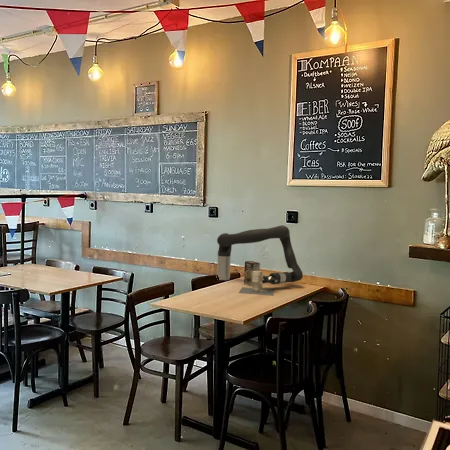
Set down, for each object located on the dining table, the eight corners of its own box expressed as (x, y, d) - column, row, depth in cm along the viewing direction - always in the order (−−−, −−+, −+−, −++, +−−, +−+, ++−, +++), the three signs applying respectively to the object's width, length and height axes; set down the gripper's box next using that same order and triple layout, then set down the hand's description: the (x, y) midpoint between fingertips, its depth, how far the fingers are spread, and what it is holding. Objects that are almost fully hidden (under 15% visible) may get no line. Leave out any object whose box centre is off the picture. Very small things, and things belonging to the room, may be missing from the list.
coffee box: (243, 284, 327) (244, 261, 326) (250, 283, 331) (251, 260, 330) (252, 286, 320) (253, 263, 318) (259, 285, 324) (260, 262, 322)
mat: (238, 293, 299) (238, 293, 299) (242, 287, 316) (242, 287, 316) (272, 296, 296) (272, 295, 296) (274, 290, 312) (274, 289, 312)
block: (256, 292, 303) (257, 272, 301) (252, 290, 306) (252, 271, 305) (262, 291, 305) (262, 271, 304) (257, 290, 309) (258, 270, 308)
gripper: (270, 270, 320) (251, 272, 311) (284, 274, 309) (265, 276, 300) (270, 281, 321) (251, 283, 312) (284, 285, 310) (265, 288, 300)
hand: (258, 280), depth 306 cm, fingers open, 8 cm apart
